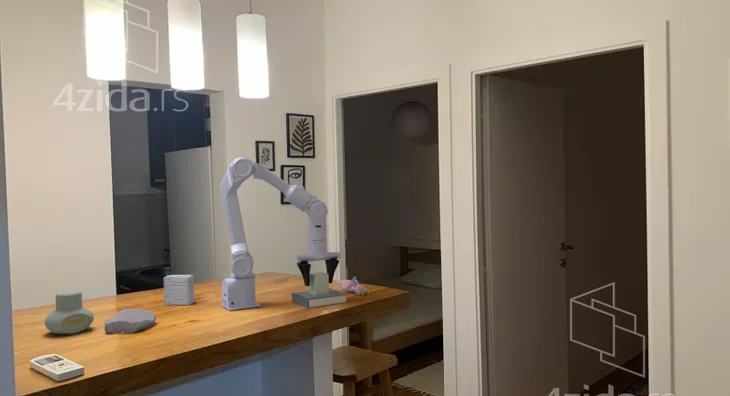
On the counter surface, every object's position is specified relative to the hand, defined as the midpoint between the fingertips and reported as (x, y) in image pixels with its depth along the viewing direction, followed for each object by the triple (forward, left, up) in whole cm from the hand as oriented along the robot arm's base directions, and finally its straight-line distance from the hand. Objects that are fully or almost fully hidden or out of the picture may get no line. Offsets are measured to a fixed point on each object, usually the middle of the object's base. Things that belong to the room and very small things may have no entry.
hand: (318, 284), depth 173 cm
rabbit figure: (+15, +7, -6) cm, 18 cm away
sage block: (0, 0, -3) cm, 3 cm away
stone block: (-53, +1, -6) cm, 53 cm away
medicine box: (-36, +23, -6) cm, 43 cm away
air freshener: (-67, +6, -6) cm, 68 cm away
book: (0, 0, -6) cm, 6 cm away
